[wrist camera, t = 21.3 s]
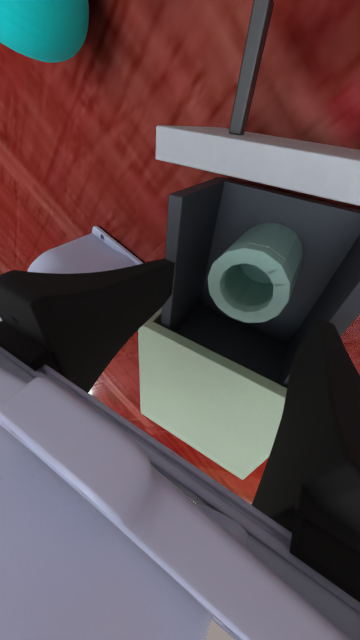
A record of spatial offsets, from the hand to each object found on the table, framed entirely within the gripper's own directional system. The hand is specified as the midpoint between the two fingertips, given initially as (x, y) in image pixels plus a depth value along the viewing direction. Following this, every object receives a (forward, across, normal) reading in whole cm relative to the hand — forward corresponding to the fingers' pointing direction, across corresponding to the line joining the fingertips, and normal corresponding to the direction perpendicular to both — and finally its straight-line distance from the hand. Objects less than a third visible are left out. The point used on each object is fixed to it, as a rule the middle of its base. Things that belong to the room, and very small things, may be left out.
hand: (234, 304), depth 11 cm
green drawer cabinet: (+9, 0, +12) cm, 15 cm away
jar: (+7, 0, 0) cm, 7 cm away
